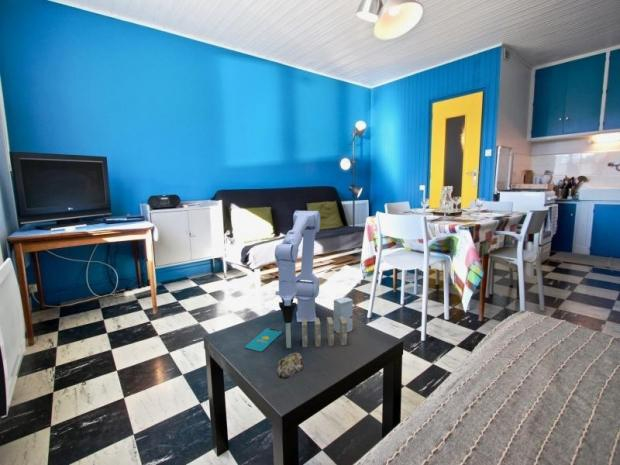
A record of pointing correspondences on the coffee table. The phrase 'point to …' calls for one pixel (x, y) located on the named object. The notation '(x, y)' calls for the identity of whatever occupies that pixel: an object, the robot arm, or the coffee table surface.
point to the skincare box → (343, 313)
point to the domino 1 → (288, 335)
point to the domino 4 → (330, 331)
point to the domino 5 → (343, 331)
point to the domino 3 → (317, 332)
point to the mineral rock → (290, 365)
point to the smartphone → (263, 340)
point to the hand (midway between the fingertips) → (288, 317)
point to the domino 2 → (304, 332)
